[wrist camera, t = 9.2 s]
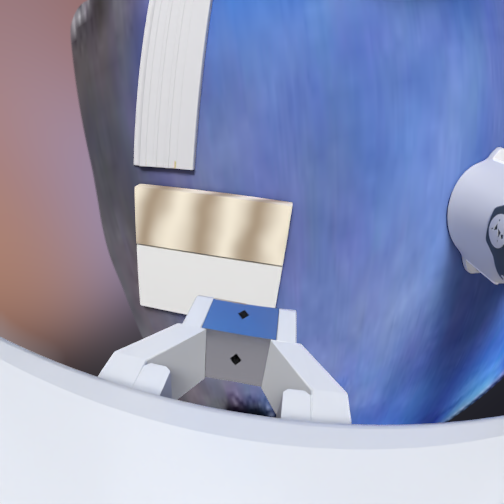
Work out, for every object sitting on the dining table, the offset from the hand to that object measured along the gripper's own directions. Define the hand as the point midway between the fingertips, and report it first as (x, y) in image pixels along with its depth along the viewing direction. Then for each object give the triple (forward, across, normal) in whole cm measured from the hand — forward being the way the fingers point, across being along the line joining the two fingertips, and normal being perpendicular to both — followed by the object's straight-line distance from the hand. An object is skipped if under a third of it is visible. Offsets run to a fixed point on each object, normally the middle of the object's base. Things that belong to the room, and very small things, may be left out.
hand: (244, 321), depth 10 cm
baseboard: (+32, +16, -14) cm, 38 cm away
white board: (+31, +8, +17) cm, 37 cm away
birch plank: (+31, +8, +8) cm, 33 cm away
